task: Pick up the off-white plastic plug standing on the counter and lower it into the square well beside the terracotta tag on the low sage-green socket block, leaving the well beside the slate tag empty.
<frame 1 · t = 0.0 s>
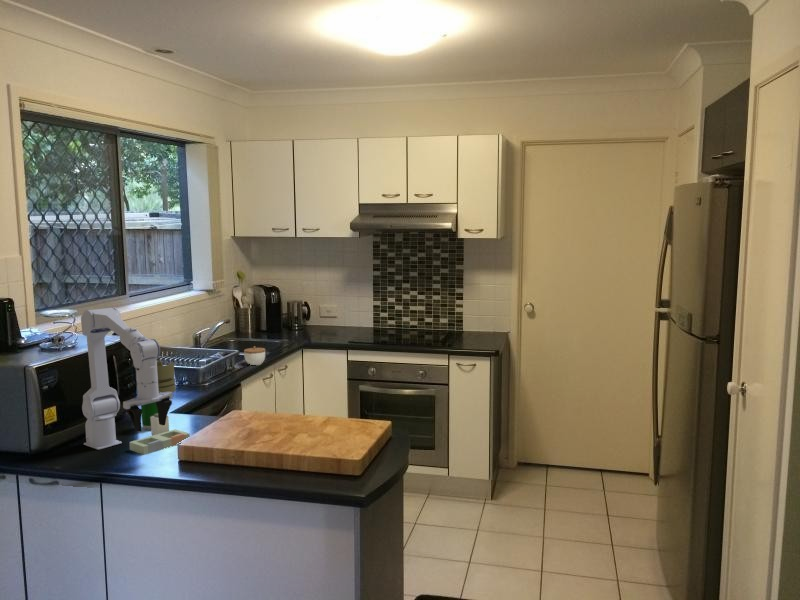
hand: (150, 427, 194), 10 cm above the countertop, tool pointing down, fingers open, 7 cm apart
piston: (161, 392, 285), on the countertop
socket block: (160, 445, 210), on the countertop
lidded jar: (255, 364, 340), on the countertop
soda can: (154, 428, 231), on the countertop
plug: (160, 437, 219), on the countertop
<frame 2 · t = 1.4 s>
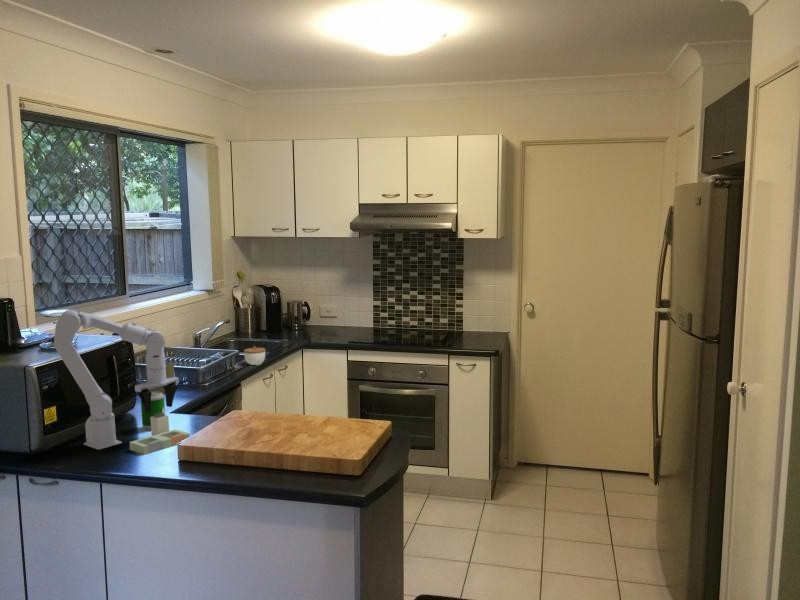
hand: (158, 409, 218), 9 cm above the countertop, tool pointing down, fingers open, 7 cm apart
nothing on the countertop moved.
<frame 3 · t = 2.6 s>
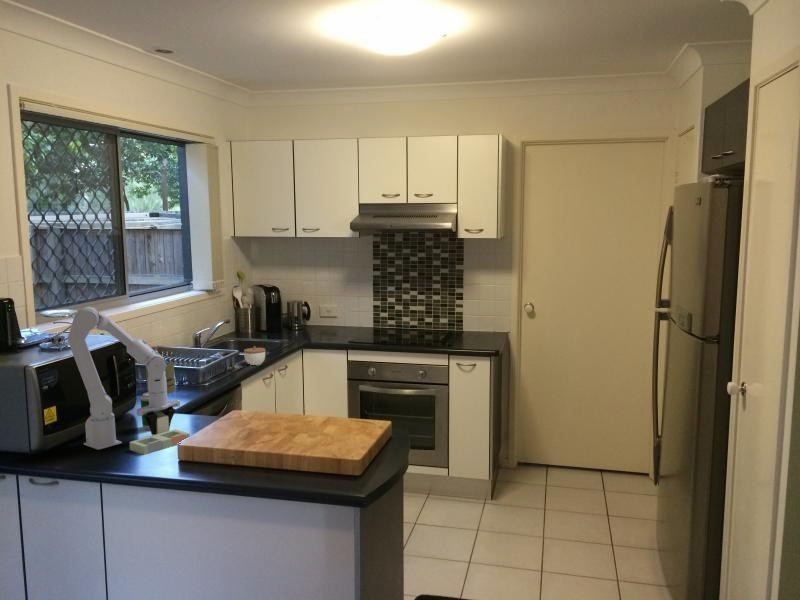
hand: (160, 432, 219), 2 cm above the countertop, tool pointing down, fingers closed on plug, 4 cm apart
plug: (160, 437, 219), on the countertop, touching gripper
everything else where it was.
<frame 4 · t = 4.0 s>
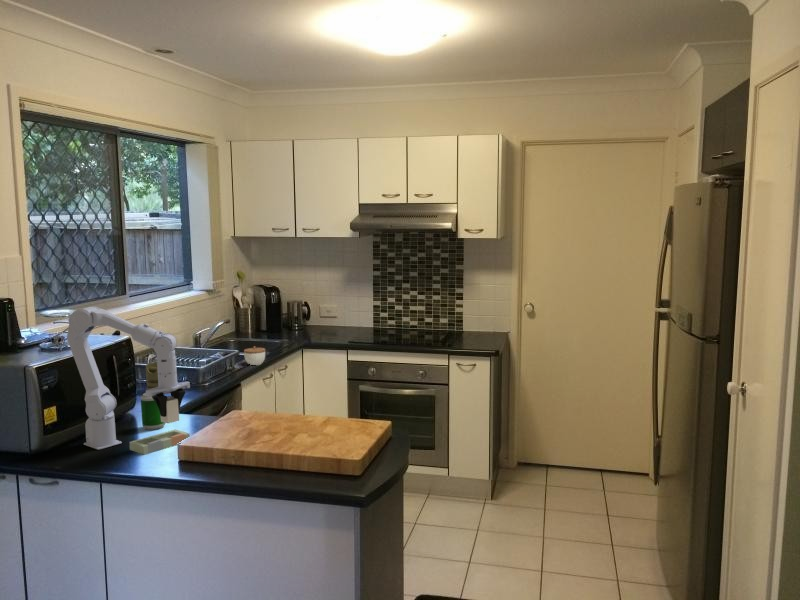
hand: (170, 414, 213), 9 cm above the countertop, tool pointing down, fingers closed on plug, 4 cm apart
plug: (170, 421, 213), point 7 cm above the countertop, touching gripper
everything else where it was.
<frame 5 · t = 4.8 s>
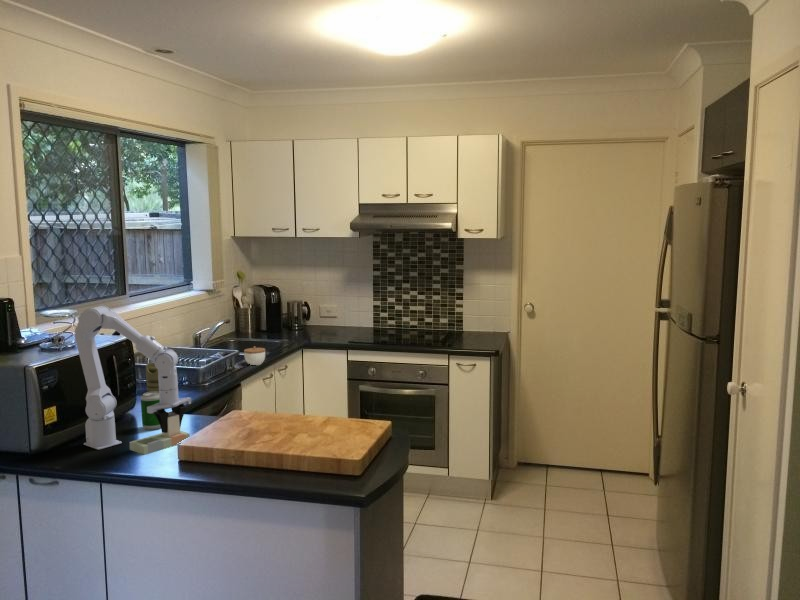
hand: (171, 430, 213), 4 cm above the countertop, tool pointing down, fingers closed on plug, 4 cm apart
plug: (171, 436, 213), point 2 cm above the countertop, touching gripper
everything else where it was.
when the fingers open (3 cm above the countertop, at t = 5.3 s): plug stays where it is, resting in socket block.
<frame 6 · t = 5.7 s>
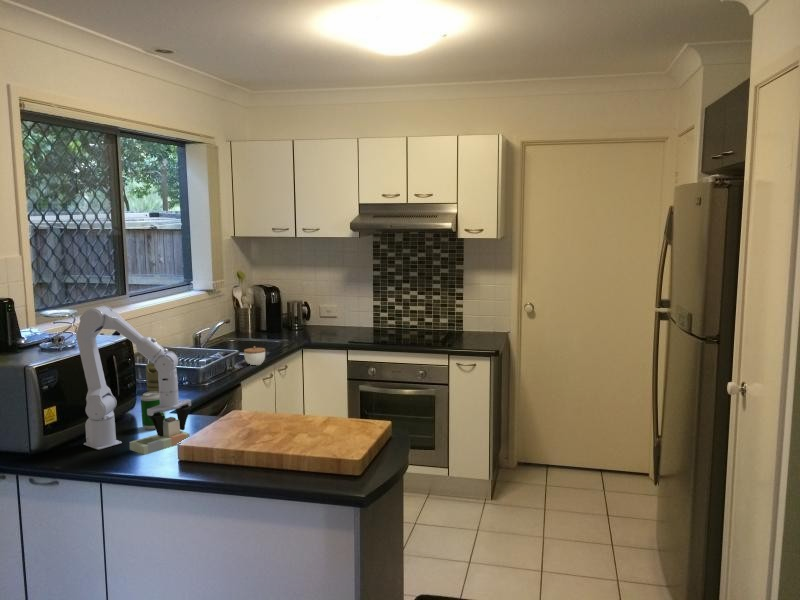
hand: (171, 432, 213), 3 cm above the countertop, tool pointing down, fingers open, 7 cm apart
plug: (171, 442, 214), resting in socket block
everything else where it was.
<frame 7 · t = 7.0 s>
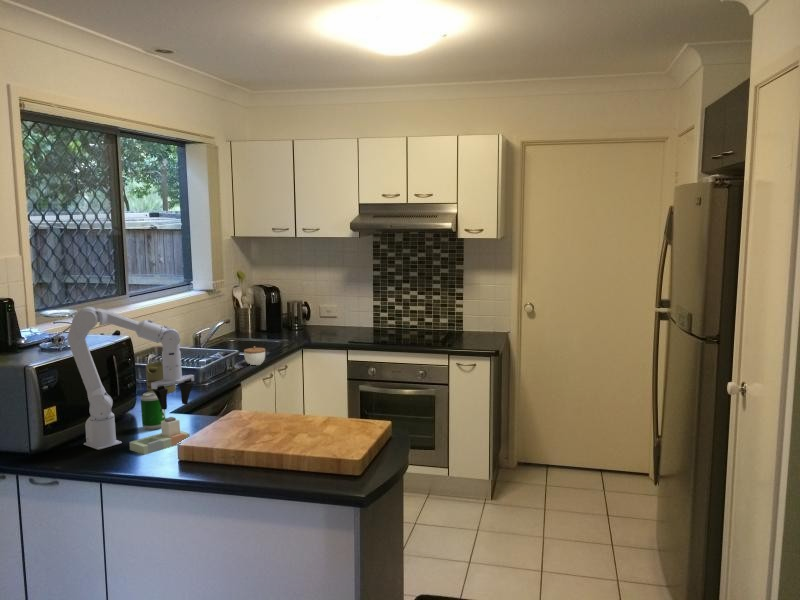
hand: (174, 406, 219), 10 cm above the countertop, tool pointing down, fingers open, 7 cm apart
nothing on the countertop moved.
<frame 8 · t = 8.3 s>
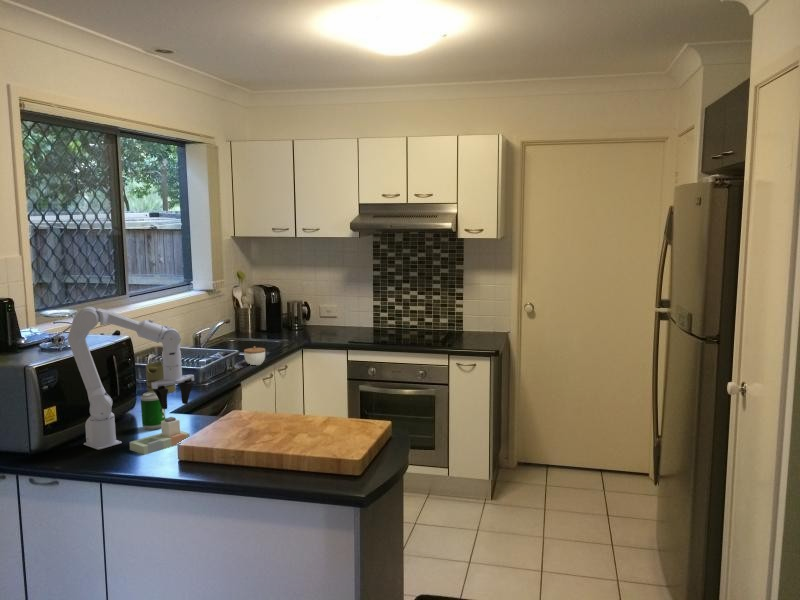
hand: (174, 406, 220), 10 cm above the countertop, tool pointing down, fingers open, 7 cm apart
nothing on the countertop moved.
at the end: plug 0.1 cm from the target spot on the socket block, point 0.0 cm above the socket block's base; plug tilted 0°; the gripper is holding nothing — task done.
